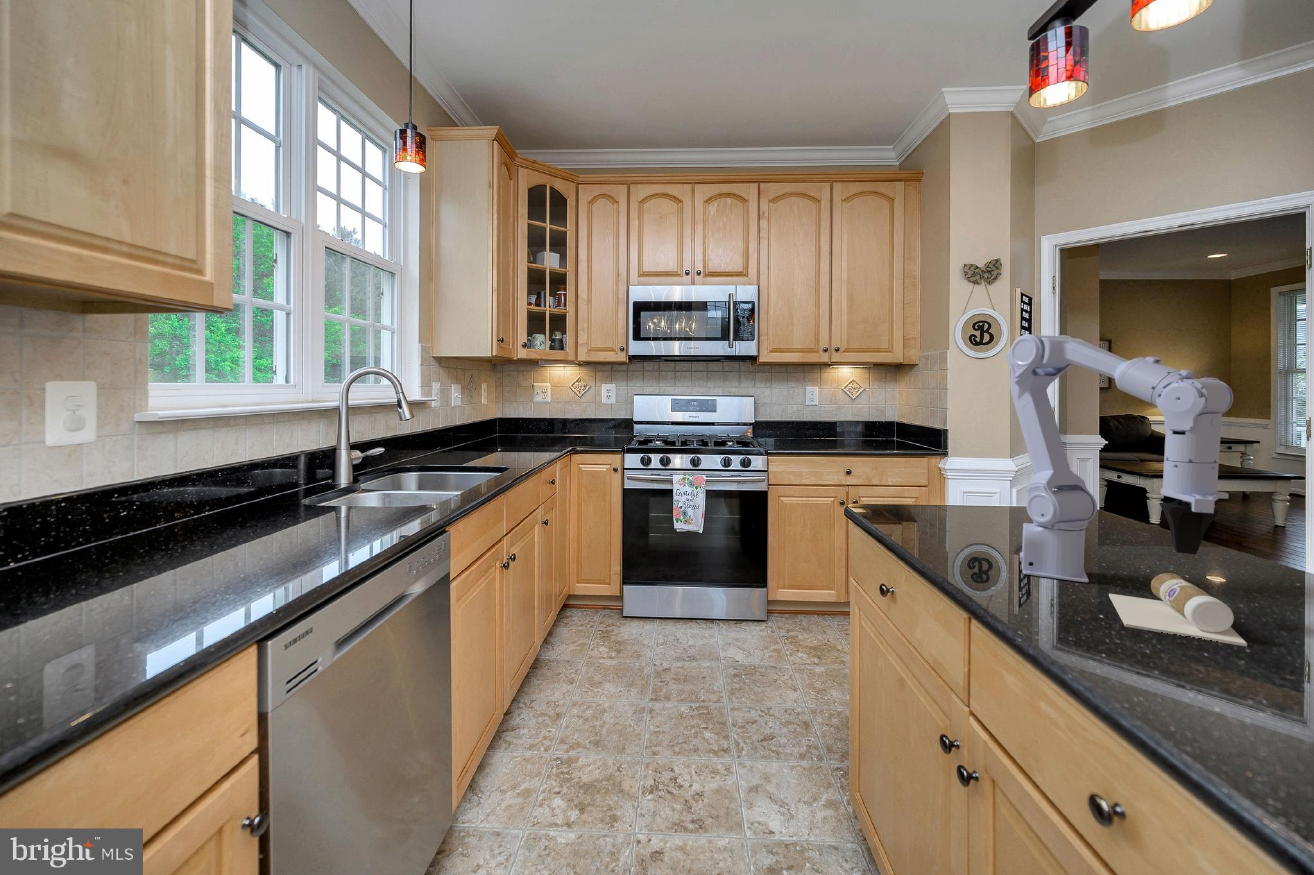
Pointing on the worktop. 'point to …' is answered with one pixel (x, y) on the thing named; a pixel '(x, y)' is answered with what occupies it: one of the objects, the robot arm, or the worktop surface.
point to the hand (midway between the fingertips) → (1185, 552)
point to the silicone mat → (1165, 619)
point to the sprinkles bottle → (1192, 603)
